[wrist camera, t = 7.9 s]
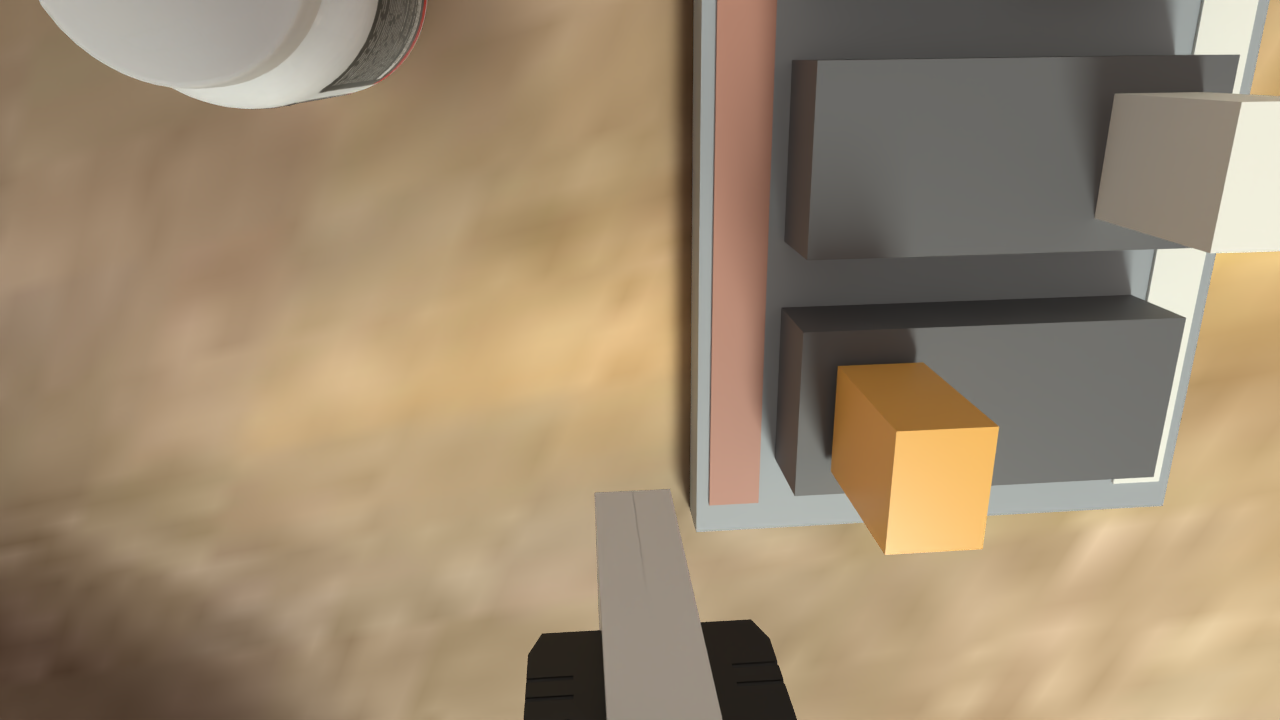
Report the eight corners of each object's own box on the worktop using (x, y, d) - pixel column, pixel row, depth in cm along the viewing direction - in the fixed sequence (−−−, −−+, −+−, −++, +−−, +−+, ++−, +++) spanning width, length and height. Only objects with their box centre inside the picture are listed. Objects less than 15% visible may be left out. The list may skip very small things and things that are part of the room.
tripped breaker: (830, 471, 25) (884, 554, 21) (838, 365, 24) (896, 431, 20) (912, 467, 25) (982, 549, 21) (923, 362, 24) (999, 426, 20)
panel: (689, 509, 30) (736, 673, 22) (696, -341, 22) (774, -569, 14) (1135, 485, 31) (1332, 632, 23) (1295, -328, 23) (1682, -530, 15)
